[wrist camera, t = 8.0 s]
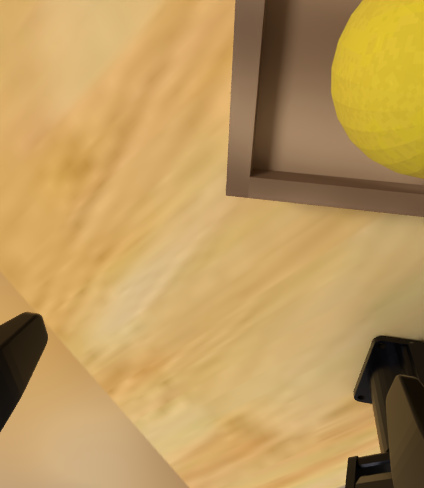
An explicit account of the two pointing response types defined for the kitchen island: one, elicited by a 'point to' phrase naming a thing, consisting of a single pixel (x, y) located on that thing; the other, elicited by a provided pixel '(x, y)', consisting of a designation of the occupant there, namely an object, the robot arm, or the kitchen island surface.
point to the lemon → (383, 83)
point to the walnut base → (300, 115)
